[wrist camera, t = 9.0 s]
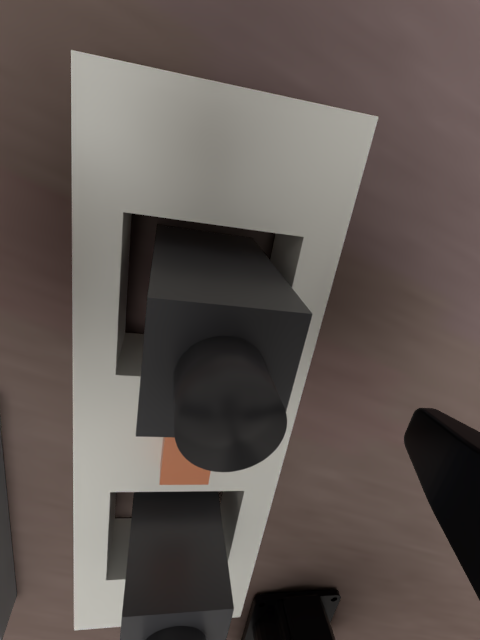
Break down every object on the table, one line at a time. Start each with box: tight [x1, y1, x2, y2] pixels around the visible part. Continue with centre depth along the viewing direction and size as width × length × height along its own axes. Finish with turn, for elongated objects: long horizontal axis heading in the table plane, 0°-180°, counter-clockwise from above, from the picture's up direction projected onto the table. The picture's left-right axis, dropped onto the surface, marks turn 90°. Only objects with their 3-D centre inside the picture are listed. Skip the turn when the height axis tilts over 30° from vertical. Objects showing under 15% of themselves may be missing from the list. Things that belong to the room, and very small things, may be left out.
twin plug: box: [120, 491, 234, 640], centre depth 18 cm, size 4×4×10 cm
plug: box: [136, 224, 312, 472], centre depth 13 cm, size 4×4×10 cm
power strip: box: [71, 50, 378, 630], centre depth 18 cm, size 26×9×4 cm, turn 170°
